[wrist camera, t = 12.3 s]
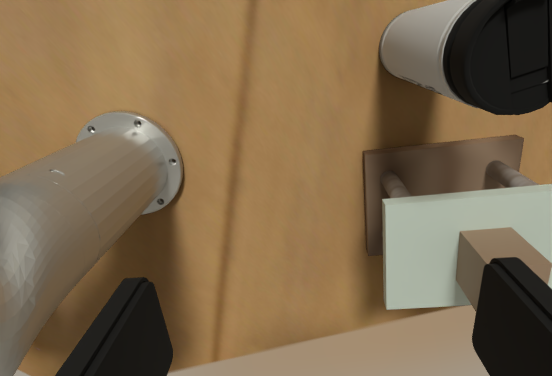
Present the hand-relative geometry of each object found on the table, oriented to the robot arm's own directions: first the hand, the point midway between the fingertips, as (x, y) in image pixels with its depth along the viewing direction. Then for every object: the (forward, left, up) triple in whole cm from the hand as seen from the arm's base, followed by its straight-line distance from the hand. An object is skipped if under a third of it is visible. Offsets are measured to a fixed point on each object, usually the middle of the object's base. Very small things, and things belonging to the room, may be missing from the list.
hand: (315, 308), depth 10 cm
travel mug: (+11, +5, -30) cm, 32 cm away
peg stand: (+14, -12, -30) cm, 35 cm away
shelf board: (+14, -12, -19) cm, 26 cm away
